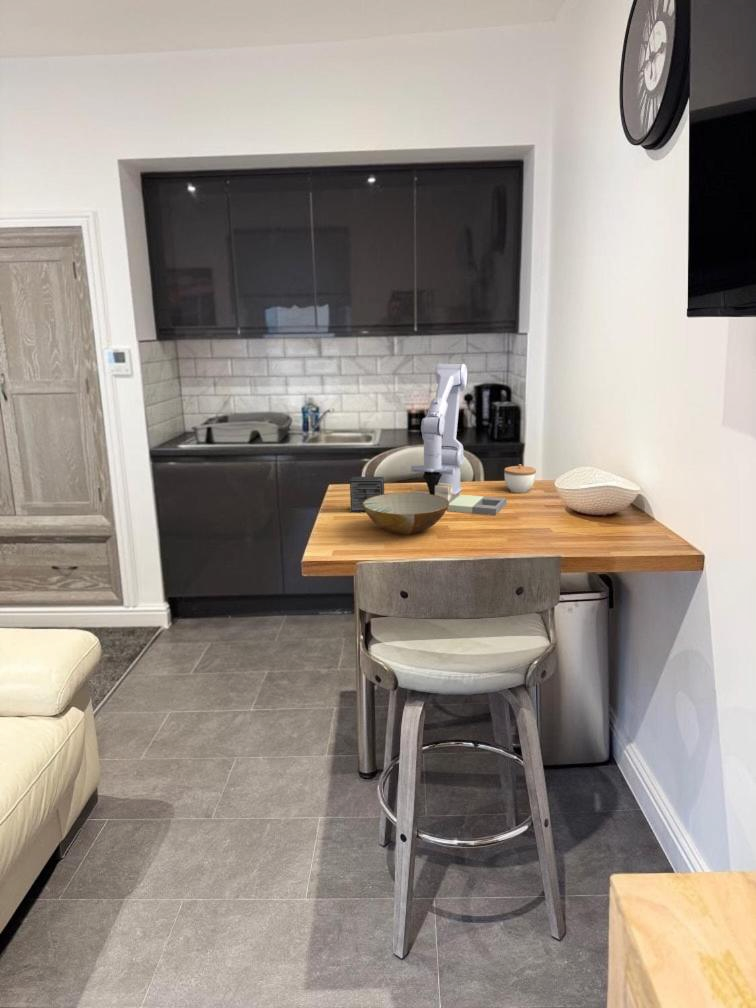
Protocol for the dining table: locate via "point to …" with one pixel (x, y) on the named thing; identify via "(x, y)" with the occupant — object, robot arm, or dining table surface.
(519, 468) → the lidded jar
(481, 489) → the dining table surface
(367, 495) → the small box
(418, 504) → the bowl
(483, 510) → the plate
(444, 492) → the block
